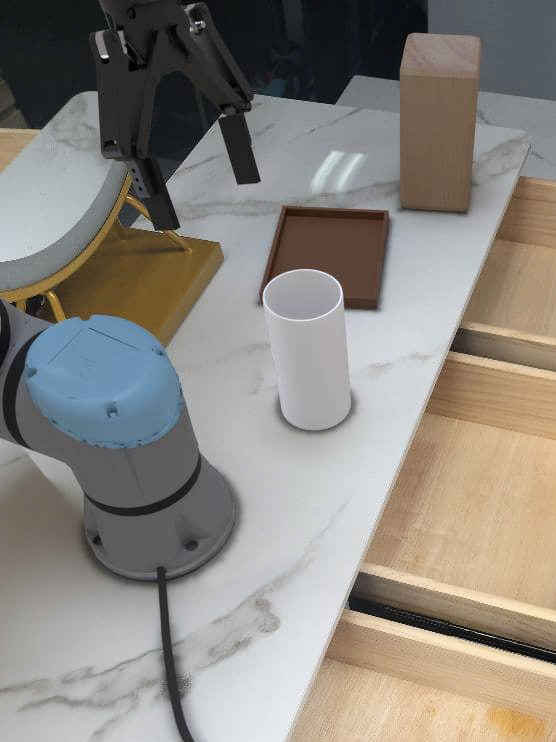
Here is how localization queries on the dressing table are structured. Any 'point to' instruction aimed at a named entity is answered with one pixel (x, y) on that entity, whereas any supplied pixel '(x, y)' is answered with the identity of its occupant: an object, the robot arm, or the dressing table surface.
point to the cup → (309, 347)
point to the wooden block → (438, 120)
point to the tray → (332, 249)
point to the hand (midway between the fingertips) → (210, 205)
